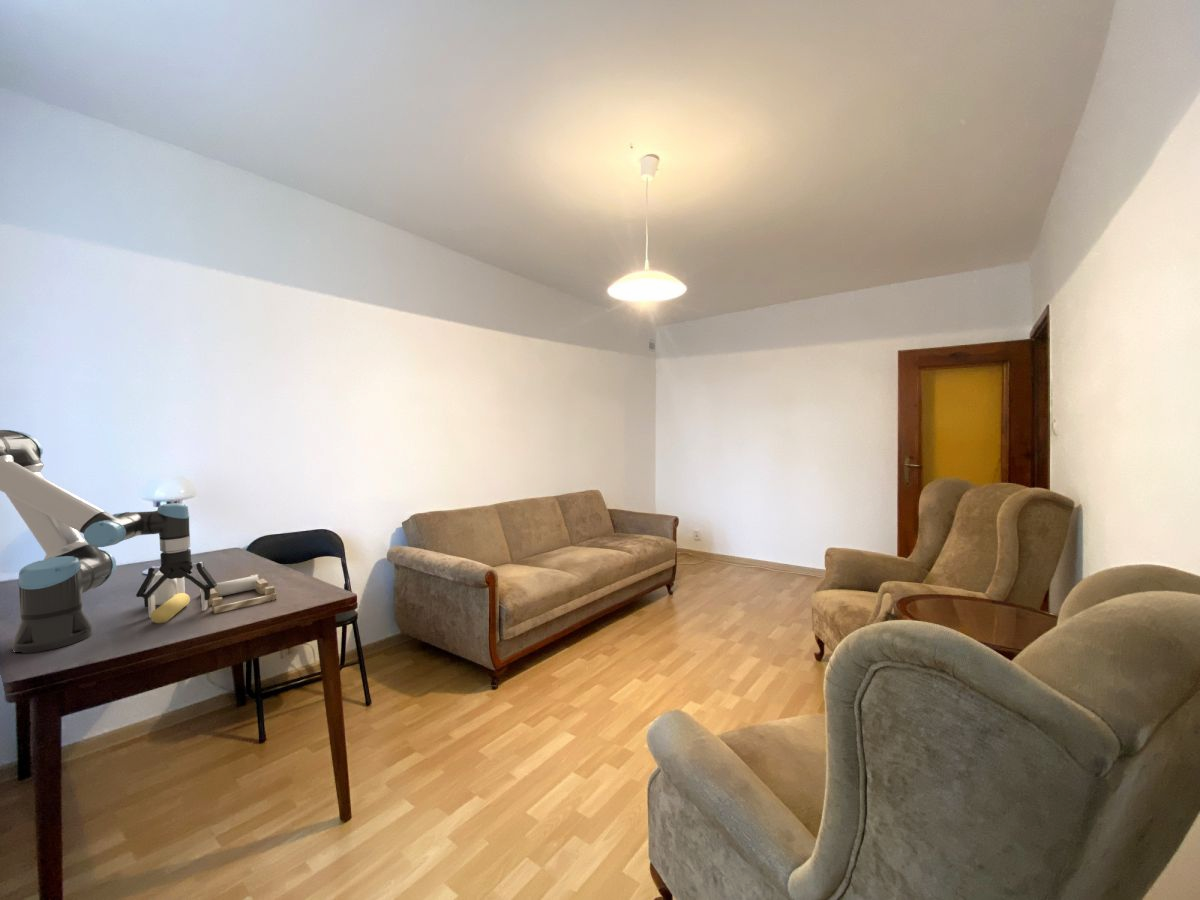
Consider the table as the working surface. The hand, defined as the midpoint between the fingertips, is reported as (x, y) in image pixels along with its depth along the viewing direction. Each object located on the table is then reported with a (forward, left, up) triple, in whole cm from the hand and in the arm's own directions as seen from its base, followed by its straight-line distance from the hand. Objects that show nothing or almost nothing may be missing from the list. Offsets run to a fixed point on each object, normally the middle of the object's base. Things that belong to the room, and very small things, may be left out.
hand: (179, 613), depth 158 cm
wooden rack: (+17, +4, 0) cm, 17 cm away
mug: (0, +16, 0) cm, 16 cm away
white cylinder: (+17, +11, 0) cm, 20 cm away
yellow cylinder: (0, 0, 0) cm, 0 cm away
